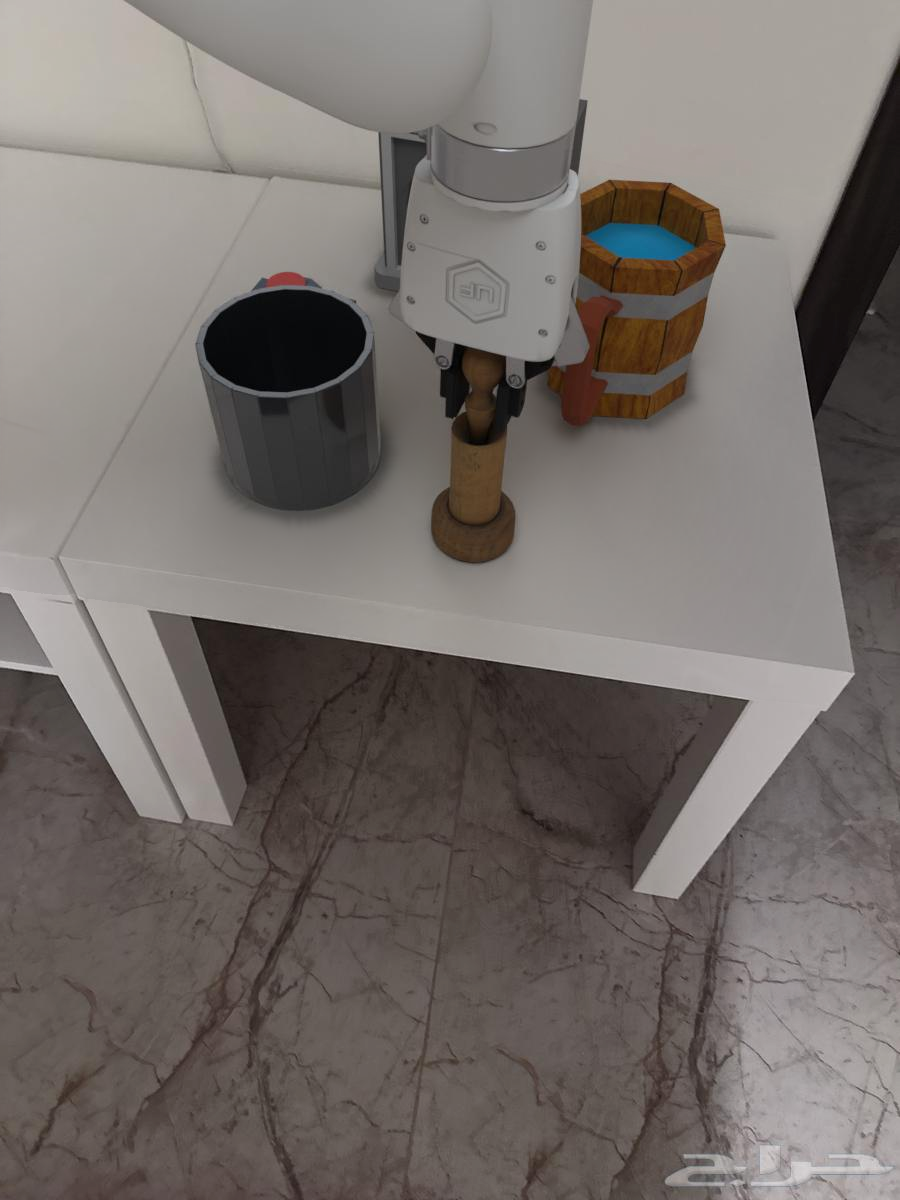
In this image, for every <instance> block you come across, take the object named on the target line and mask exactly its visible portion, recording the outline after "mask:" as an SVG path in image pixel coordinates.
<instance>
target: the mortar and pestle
mask: <svg viewBox="0 0 900 1200" xmlns="http://www.w3.org/2000/svg"><path fill="white" fill-rule="evenodd" d="M462 370H463V373H464V375H465V377H466V379H467V381H468V382H469V384H470V388H471V391H469V394H468V395H467V396H466V398H465V402H464V408H465V411H463V412H461V413H459V414H458V415H457V417H456V418H455V417H454V420H453V421H452V423H451V435H450V438H451V440H450V441H451V442H450V445H451V447H450V472H449V473H450V474H449V475H450V476H449V486H448V487H447V488H444V490H442V491H441V492H440V493H439V494H437V496H436V498H435V499H434V500H433V504H432V507H431V520H430V521H431V522H430V523H431V524H430V532H431V535H432V539H433V541H434V542H435V544H436V545H437V547H438V548H439V549H440V550H441V551H443V553H444V554H446V555H448V556H450V557H451V558H454V559H457V560H459V561H462V562H466V563H467V562H468V563H482V562H487V561H490V560H493V559H496V558H497V557H499V556H501V555H503V553H505V552H506V551H507V550H508V549H509V548H510V546H511V544H512V542H513V539H514V535H515V530H516V529H515V527H516V519H517V517H516V515H517V514H516V510H515V509H516V508H515V506H514V503H513V502H512V500H511V498H510V497H508V495H507V494H506V493H505V492H504V491H502V485H503V474H504V464H505V454H506V448H507V447H506V446H507V438H508V429H509V428H508V426H507V427H506V429H505V431H504V433H502V432H498V431H496V429H495V428H494V417H495V406H496V394H495V393H494V390H495V388H497V387H498V384H499V382H500V380H501V378H503V377H504V372H505V370H506V356H503V355H500V354H496V353H492V352H488V351H484V350H480V349H476V348H472V347H468V348H467V349H466V351H465V353H464V355H463V358H462Z"/></svg>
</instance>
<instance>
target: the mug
mask: <svg viewBox="0 0 900 1200" xmlns="http://www.w3.org/2000/svg"><path fill="white" fill-rule="evenodd" d="M580 197H581V250H580V266H579V278H578V288H577V296H576V302H575V307H576V309H577V312H578V315H579V318H580V320H581V323H582V326H583V328H584V331H585V334H586V336H587V339H588V342H589V346H590V347H589V349H588V352H587V354H586V356H585V359H584V361H583V362H581V363H577V364H571V365H565V366H551V368H550V369H549V370H547V379H546V380H547V382H546V384H547V385H546V386H547V387H548V388H549V389H551V390H552V391H554V392H555V393H556V394H558V395H559V396H560V397H561V401H560V411H561V416H562V419H563V421H564V422H566V423H568V425H569V424H570V425H571V426H578V427H582V426H584V425H586V424H587V422H589V420H590V419H592V417H606V418H608V417H609V418H610V417H611V418H623V419H624V418H625V419H641V420H647V419H648V418H650V417H651V416H653V415H655V414H656V413H657V412H659V411H660V410H662V409H664V408H665V407H666V406H668V405H669V404H671V403H673V402H674V401H676V400H677V399H679V398H681V397H682V396H683V395H685V391H686V385H687V376H688V370H689V366H690V363H691V359H692V355H693V351H694V350H695V348H696V347H695V346H696V344H697V341H698V339H699V336H700V334H701V332H702V329H703V327H704V323H705V316H706V310H707V304H708V298H709V294H710V290H711V287H712V283H713V280H714V275H715V273H716V270H717V268H718V265H719V263H720V260H721V258H722V255H723V253H724V251H725V249H726V247H727V243H726V239H725V233H724V228H723V223H722V217H721V213H720V208H718V207H717V206H715V205H713V204H711V203H709V202H707V201H705V200H704V199H702V198H700V197H698V196H696V195H694V194H692V193H691V192H688V191H687V190H685V189H683V188H682V187H680V186H678V185H676V184H674V183H672V182H665V181H664V182H663V181H643V180H624V179H623V180H621V179H608V180H606V181H604V182H601V183H599V184H598V185H595V186H593V187H591V188H589V189H587V190H586V191H583V192H580Z"/></svg>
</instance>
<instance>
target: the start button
mask: <svg viewBox="0 0 900 1200" xmlns="http://www.w3.org/2000/svg"><path fill="white" fill-rule="evenodd" d="M304 277H305V276H303V275H301V274H299V273H297V272H294V271H282V272H278V273H277V272H276V273H275V274H273V275H271V276H270V277H269V278H267V279H268V280H267V283H266V287H274V286H280V285H298V286H306V281H305V279H304Z"/></svg>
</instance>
